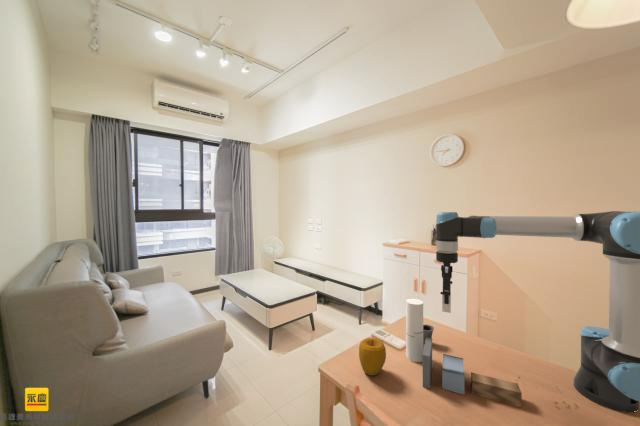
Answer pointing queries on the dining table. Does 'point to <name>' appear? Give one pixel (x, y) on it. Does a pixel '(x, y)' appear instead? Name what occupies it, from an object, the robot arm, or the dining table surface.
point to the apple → (372, 355)
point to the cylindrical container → (414, 330)
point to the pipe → (427, 332)
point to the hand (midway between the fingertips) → (446, 305)
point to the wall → (427, 363)
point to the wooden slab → (496, 389)
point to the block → (453, 374)
